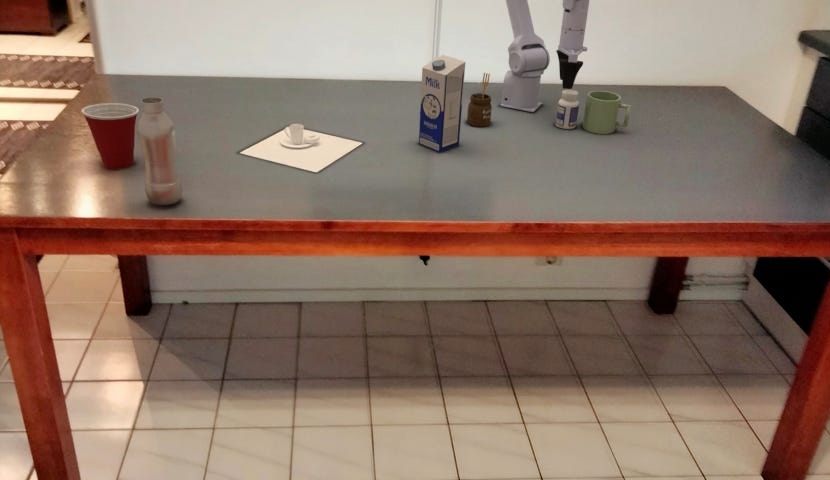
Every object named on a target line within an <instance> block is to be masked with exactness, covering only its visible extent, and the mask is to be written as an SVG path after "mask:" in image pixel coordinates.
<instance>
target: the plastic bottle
mask: <svg viewBox="0 0 830 480" xmlns="http://www.w3.org/2000/svg"><path fill="white" fill-rule="evenodd" d="M140 104H141V112H142V113H143V114H142V116H141V117H140V119H139V121H138V123H137V127H136V132H137V135H138V140H139V143H140V147H141V149H142V154H143V159H144V164H145V165H144V167H145V184H144V186H145V187H144V188H145V190H144V191H145V195H146V197H147V199H148V201H149V202H151V203H152V204H153V205H156V206H169V205H173V204H176V203H178V202H179V201H180V200H181V198H182V197H183V185H182V181H181V178H180V177H179V176H180V175H179V171H178V166H177V161H176V126H175V124H174V122H173V120H172V119H171V118H170V117H169V116H168V115H167V114H166V113H165V110H166V108H165V106H164V100H163V98H161V97H156V96H150V97H145V98H142V99H140Z"/></svg>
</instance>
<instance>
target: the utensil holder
mask: <svg viewBox="0 0 830 480" xmlns="http://www.w3.org/2000/svg"><path fill="white" fill-rule="evenodd" d="M490 76H491V74H490V73H487V72H483V77H482V82H481V81H477V82H476V84H477V85H479V86H480V87H481V85H482V87H483V89H482V92H476V91H475V89H478V88H479V87H478V86H476V85H474V89H473V91H474V92H473V93H472V94H471V95H470V98H469V103H468V106H467V115H466V116H467V117H466V121H467V123H468V124H469V126H472V127H477V128H478V127H479V128H483V127H488V126H489V125H490V123H491V120H492V119H491V118H492V107H493V106H492V104H491V101H492V96H491V95H489V94H487V93H485V92H486V88H487V87H488V86H489V82H490Z"/></svg>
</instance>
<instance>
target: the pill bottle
mask: <svg viewBox="0 0 830 480" xmlns="http://www.w3.org/2000/svg"><path fill="white" fill-rule="evenodd" d="M578 97H579V92H578V90H575V89H563V90H562V92H561V98H560V99H559V100H558V102H557V109H556V116H555V123H554V124H555V126H556V127H557V128H560V129H564V130H573V129H575V128H576V127H577V123H578V122H577V121H578V115H579V108H580V102H579V100H578V99H579V98H578Z"/></svg>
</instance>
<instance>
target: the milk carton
mask: <svg viewBox="0 0 830 480" xmlns="http://www.w3.org/2000/svg"><path fill="white" fill-rule="evenodd" d="M466 62H467V61H465V60H462V59H458V58H456V57H452V56H449V55H445V54H441V55H440V56H437V57H436V58H434V59H432V60H431V61H429V62H428V63H427V64H425V65H424V66H422V67H421V68H422V69H421V71H422V73H421V88H420V89H421V91H420V110H419V114H420V115H419V129H418V131H419V133H418V145H421V146H422V147H425V148H427V149H430V150H433V151H434V152H435V151H436V152H438V153H442V152H445V151H448V150H451V149H453V148H456V147H459V146H460V136H461V124H462V123H461V122H462V109H463V98H464V85H465V72H466V71H465V70H466Z"/></svg>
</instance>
